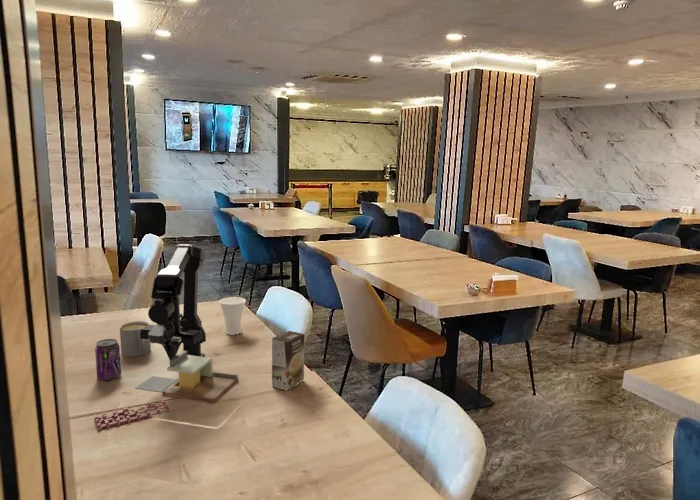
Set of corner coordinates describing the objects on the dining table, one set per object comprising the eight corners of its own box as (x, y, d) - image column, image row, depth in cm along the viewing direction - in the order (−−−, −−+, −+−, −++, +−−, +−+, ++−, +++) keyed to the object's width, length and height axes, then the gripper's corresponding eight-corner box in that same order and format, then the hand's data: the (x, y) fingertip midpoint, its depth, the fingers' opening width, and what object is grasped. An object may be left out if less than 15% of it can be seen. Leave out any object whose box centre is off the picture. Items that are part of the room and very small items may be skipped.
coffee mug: (118, 350, 190) (117, 324, 189) (146, 344, 196) (145, 319, 194) (127, 362, 180) (125, 335, 178) (156, 356, 185) (155, 329, 184)
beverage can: (112, 383, 164) (109, 347, 162) (92, 380, 165) (89, 344, 163) (125, 373, 171) (123, 339, 168) (106, 371, 172) (104, 337, 170)
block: (187, 381, 165) (186, 363, 164) (200, 383, 164) (199, 365, 163) (179, 387, 161) (178, 369, 159) (192, 389, 160) (191, 371, 158)
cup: (214, 333, 210) (213, 301, 207) (233, 326, 218) (232, 295, 216) (233, 339, 204) (232, 306, 202) (251, 331, 213) (251, 299, 210)
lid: (187, 372, 169) (186, 348, 167) (212, 375, 167) (211, 352, 165) (167, 386, 158) (166, 361, 157) (194, 390, 156) (193, 365, 155)
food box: (287, 391, 161) (287, 342, 158) (271, 386, 164) (271, 338, 161) (304, 380, 169) (305, 333, 166) (288, 376, 172) (288, 330, 169)
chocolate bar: (172, 414, 147) (172, 407, 146) (98, 432, 136) (98, 425, 136) (165, 403, 152) (165, 397, 152) (94, 420, 142) (94, 414, 142)
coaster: (152, 377, 168) (152, 376, 168) (177, 381, 166) (177, 379, 166) (134, 389, 160) (134, 388, 159) (160, 393, 157) (160, 391, 157)
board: (190, 374, 171) (190, 367, 170) (238, 381, 167) (238, 374, 167) (162, 396, 156) (162, 388, 155) (213, 404, 152) (213, 396, 151)
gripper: (126, 317, 154) (129, 367, 157) (182, 324, 149) (184, 374, 152) (149, 307, 164) (151, 353, 167) (202, 312, 160) (204, 360, 163)
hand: (172, 360), depth 162 cm, fingers closed
